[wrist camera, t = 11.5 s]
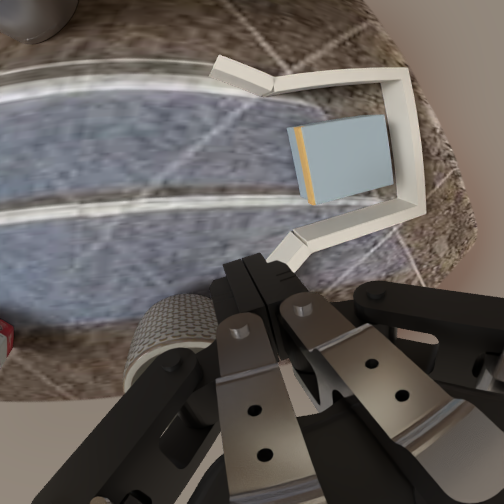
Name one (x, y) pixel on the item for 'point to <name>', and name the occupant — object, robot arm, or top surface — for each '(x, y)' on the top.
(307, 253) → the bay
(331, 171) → the light blue box
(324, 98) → the top surface
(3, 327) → the ink box
